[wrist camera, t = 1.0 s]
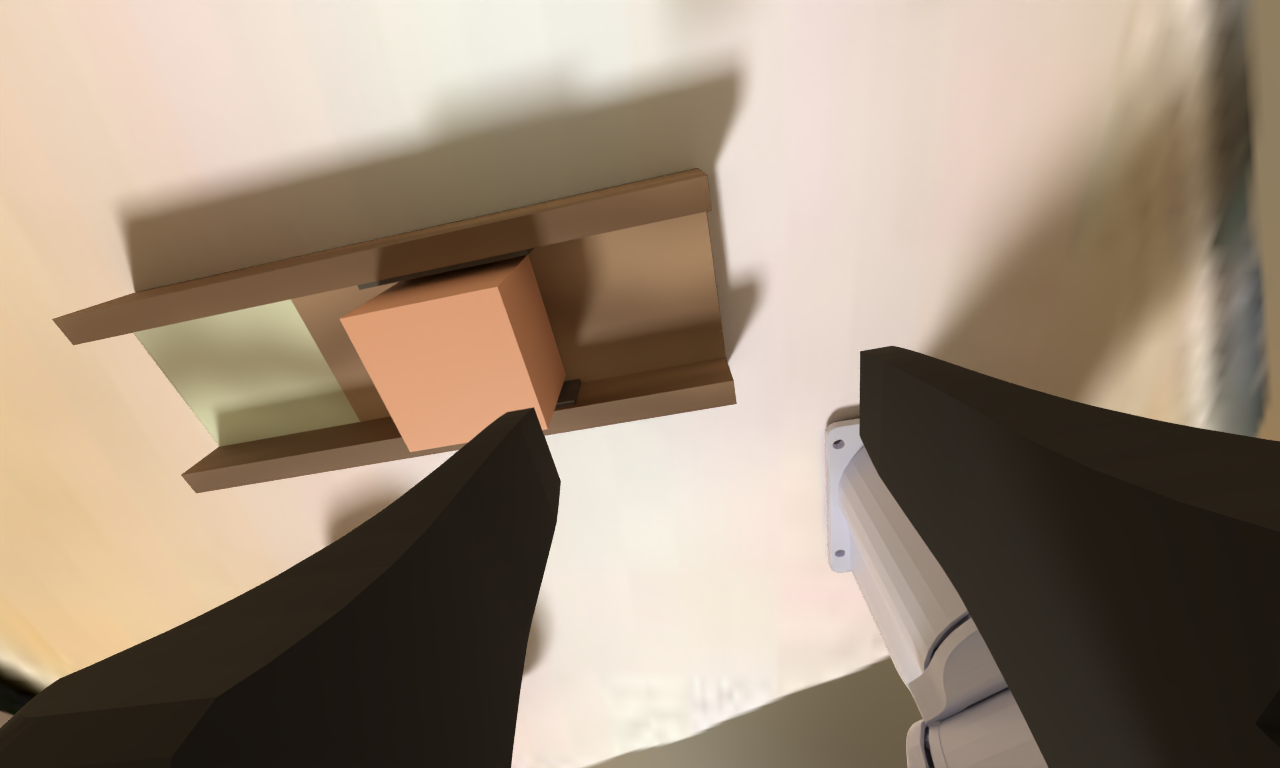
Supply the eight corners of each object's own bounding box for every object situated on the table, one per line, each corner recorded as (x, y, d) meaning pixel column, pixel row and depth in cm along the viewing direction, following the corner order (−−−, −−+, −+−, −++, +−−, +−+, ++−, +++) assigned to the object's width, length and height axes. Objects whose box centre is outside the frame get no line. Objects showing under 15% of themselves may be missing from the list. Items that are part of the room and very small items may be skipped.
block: (566, 374, 20) (547, 428, 16) (451, 395, 20) (410, 452, 17) (528, 254, 17) (497, 286, 14) (400, 281, 18) (339, 318, 14)
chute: (725, 368, 20) (736, 403, 18) (248, 451, 23) (196, 493, 20) (697, 168, 17) (707, 175, 14) (133, 293, 19) (52, 319, 17)
